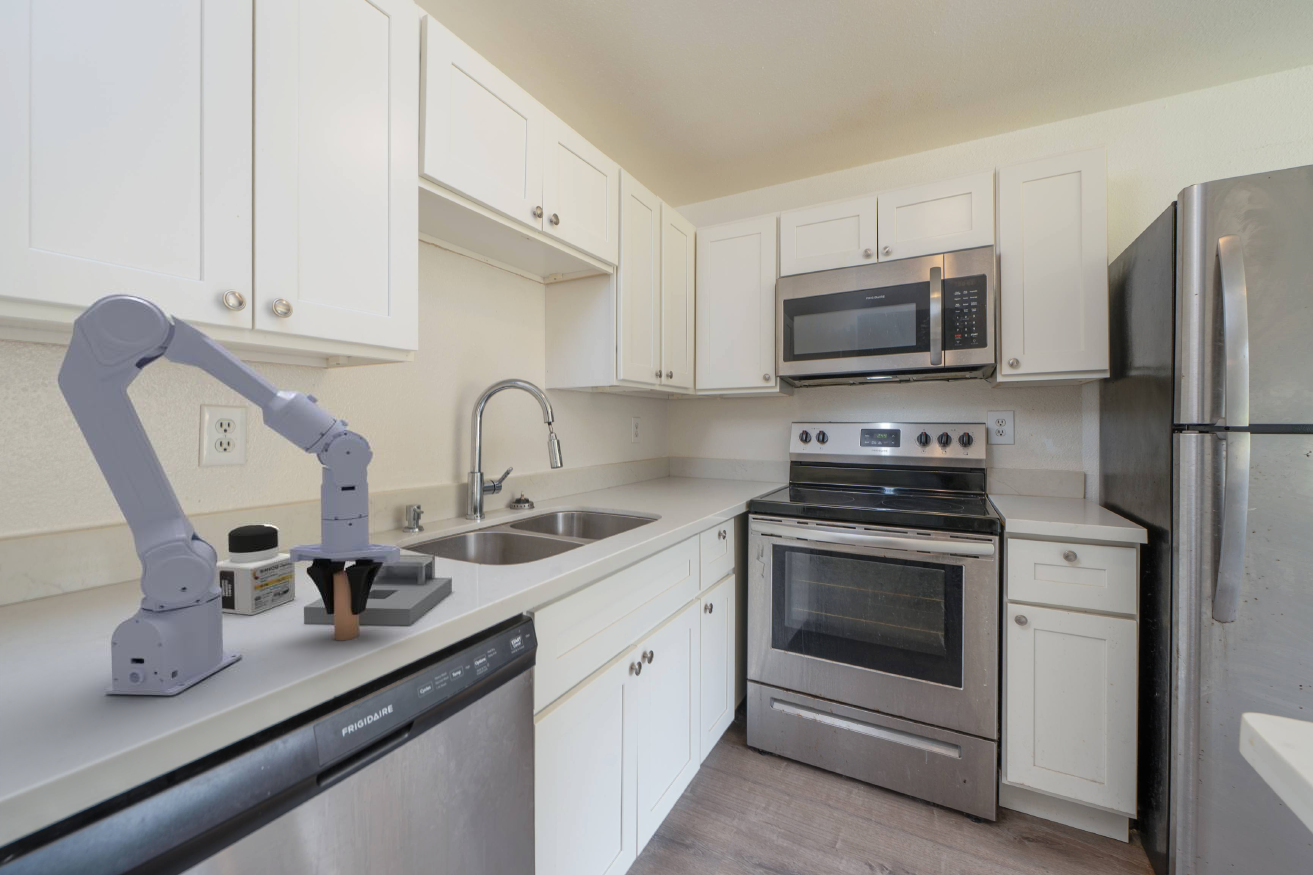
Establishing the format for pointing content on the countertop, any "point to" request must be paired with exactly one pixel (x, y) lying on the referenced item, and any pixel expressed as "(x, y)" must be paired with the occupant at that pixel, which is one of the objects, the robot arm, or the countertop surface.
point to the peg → (344, 609)
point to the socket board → (390, 602)
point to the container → (255, 571)
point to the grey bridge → (409, 568)
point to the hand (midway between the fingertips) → (346, 612)
